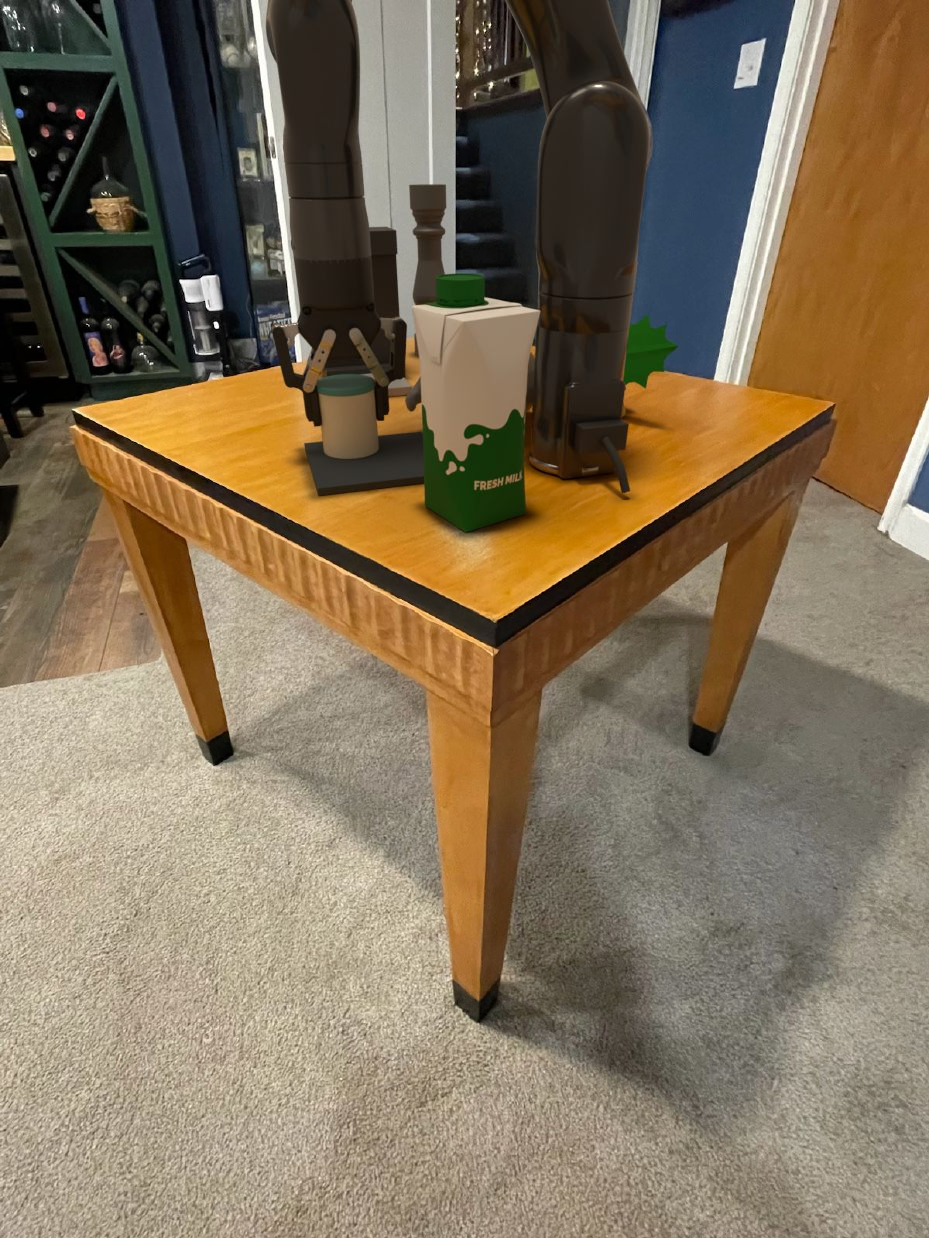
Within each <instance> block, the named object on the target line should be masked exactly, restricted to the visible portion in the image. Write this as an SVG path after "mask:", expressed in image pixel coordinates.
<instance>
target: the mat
mask: <svg viewBox="0 0 929 1238" xmlns="http://www.w3.org/2000/svg"><path fill="white" fill-rule="evenodd" d="M378 441H379V449H378V451H377V452H376V453H374V454H372V455H370V456H366V457H362V458H355V459H340V458H334V457H330V456H328V455H326V454H325V452H324V447H323V440H322V441H313V442H304V451H305V454H306V457H307V461H308V465H309V468H310V471H311V472H310V473H311V474H312V479H313V482H314V485H315V489H316V492H317V496H326V495H327V496H329V495H335V494H343V493H344V494H345V493H353V492H361V491H370V490H377V489H378V490H379V489H386V488H393V487H394V488H395V487H403V486H412V485H420V484H424V451H423V431H410V432H400V433H392V434H391V433H390V434H382V435H381V434H380V435H378Z"/></svg>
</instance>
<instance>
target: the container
mask: <svg viewBox="0 0 929 1238" xmlns="http://www.w3.org/2000/svg"><path fill="white" fill-rule="evenodd" d="M374 388H375V380H374V379H373V378H372V377H369V376H365V375H358V374H340V375H332V376H327V377H324V376H323V377H320V378H318V381H317V383H316V386H315V390H316V392H317V397H318V406H319V414H320V422H321V426H320V430H321V431H320V432H321V438H322V441H323V447H324V452H325V454H326V455H328V456H330V457H334V458H340V459H355V458H362V457H366V456H370V455H372V454H374V453H376V452H377V451H378V449H379V441H378V436H379V431H378V421H377V416H376V403H375V390H374Z"/></svg>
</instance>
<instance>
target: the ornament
mask: <svg viewBox="0 0 929 1238" xmlns="http://www.w3.org/2000/svg"><path fill="white" fill-rule="evenodd" d="M666 329H667V324H664V325H661V326H658V327H652V326H651V321H650V315H649V313H647V314H646V315H645V316H643V317H642V318H641V319H639V321H637V322H636V323H630V328H629V337H628V346H627V354H626V363H625V371H624V380H623V381H624V383H625V391H626V390H627V387H626V386H627V385H628V384H631V383H634V384H637V385H639V386H640V387H642V388H644V389H647V385H648V381H649V377H650V375H651V374H652V373H654V372H656V373H665V361H666V359H667V357H668V356H669V355H670V354H672V353H673V352H674V351H676V349H678V348H679V345H678V344H677V343H675V342H672V341H670V340H668V338H667V337H666ZM533 356H534V358H535V353H534V354H533ZM626 409H627V408H626V407H625V402H623V410H622V418H623V417H625V415H626Z"/></svg>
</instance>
